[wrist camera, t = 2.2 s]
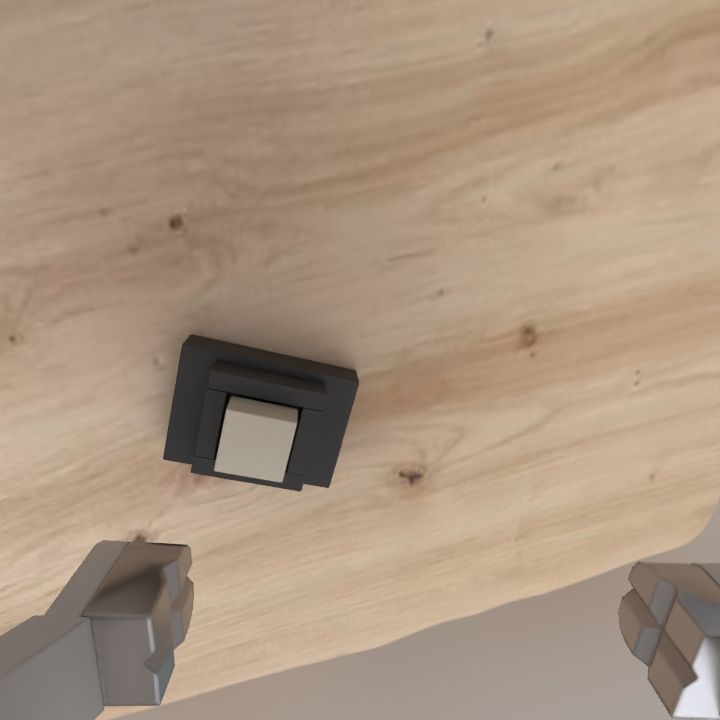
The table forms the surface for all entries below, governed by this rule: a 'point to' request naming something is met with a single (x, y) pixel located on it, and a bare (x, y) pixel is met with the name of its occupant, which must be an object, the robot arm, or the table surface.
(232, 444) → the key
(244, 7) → the table surface
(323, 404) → the tiered dark block
